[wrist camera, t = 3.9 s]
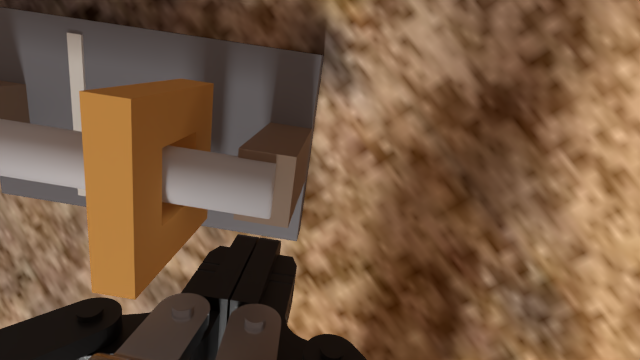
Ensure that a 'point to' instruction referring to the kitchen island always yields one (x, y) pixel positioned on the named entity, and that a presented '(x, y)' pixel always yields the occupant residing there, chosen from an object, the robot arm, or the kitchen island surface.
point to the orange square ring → (138, 177)
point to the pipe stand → (177, 163)
